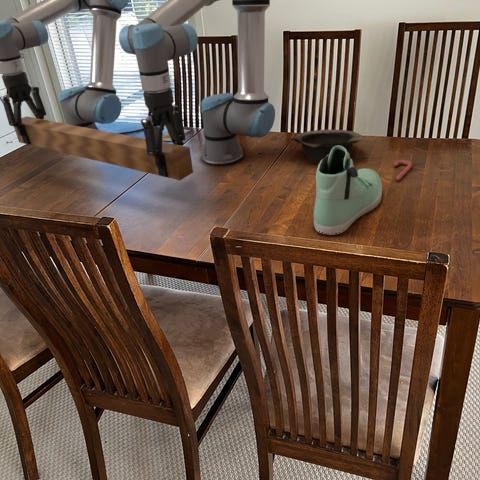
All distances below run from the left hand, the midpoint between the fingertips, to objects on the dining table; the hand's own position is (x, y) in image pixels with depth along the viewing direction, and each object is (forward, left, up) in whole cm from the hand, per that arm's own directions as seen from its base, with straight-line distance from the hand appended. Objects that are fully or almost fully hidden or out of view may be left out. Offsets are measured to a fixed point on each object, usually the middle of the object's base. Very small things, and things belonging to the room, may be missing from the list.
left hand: (35, 140), depth 169 cm
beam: (-10, +30, -1) cm, 32 cm away
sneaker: (-57, +94, -14) cm, 111 cm away
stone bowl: (-83, +61, -14) cm, 104 cm away
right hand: (-20, +61, 0) cm, 64 cm away
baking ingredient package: (-56, -3, -14) cm, 58 cm away
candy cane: (-88, +89, -14) cm, 126 cm away
